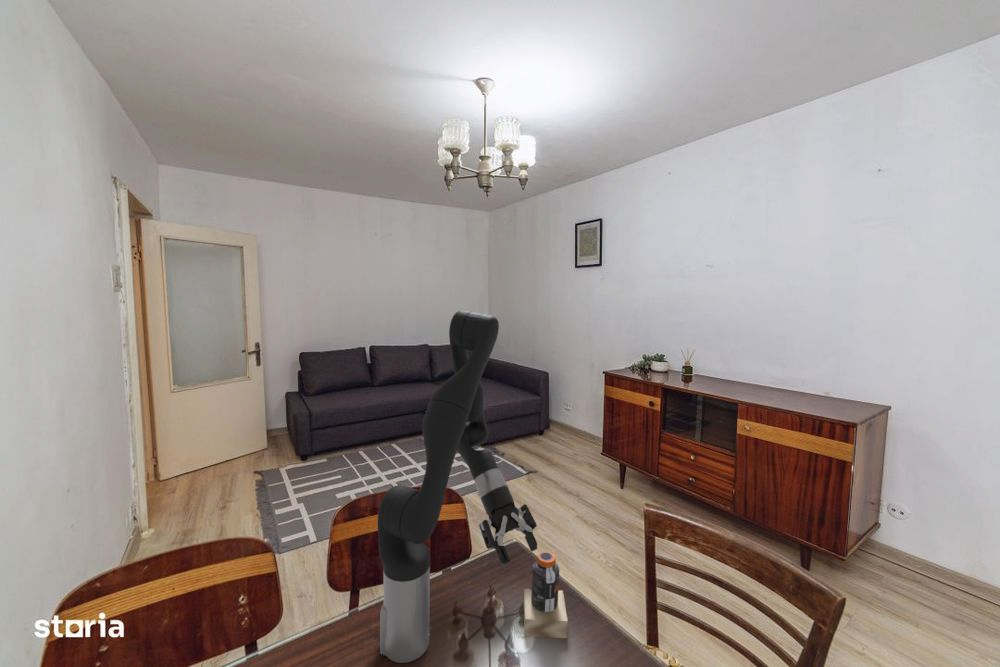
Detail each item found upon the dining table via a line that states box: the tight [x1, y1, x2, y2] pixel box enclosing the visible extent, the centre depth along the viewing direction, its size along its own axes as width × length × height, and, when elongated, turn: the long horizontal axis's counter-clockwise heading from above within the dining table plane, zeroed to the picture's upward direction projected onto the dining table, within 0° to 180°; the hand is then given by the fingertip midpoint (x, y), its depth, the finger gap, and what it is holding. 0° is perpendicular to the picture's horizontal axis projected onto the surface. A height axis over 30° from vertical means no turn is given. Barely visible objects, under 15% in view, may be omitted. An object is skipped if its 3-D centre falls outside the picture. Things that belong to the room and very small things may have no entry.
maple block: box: [523, 588, 569, 639], centre depth 93 cm, size 9×9×4 cm
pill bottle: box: [531, 550, 560, 612], centre depth 92 cm, size 6×6×11 cm
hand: (521, 556), depth 98 cm, fingers open, 8 cm apart
